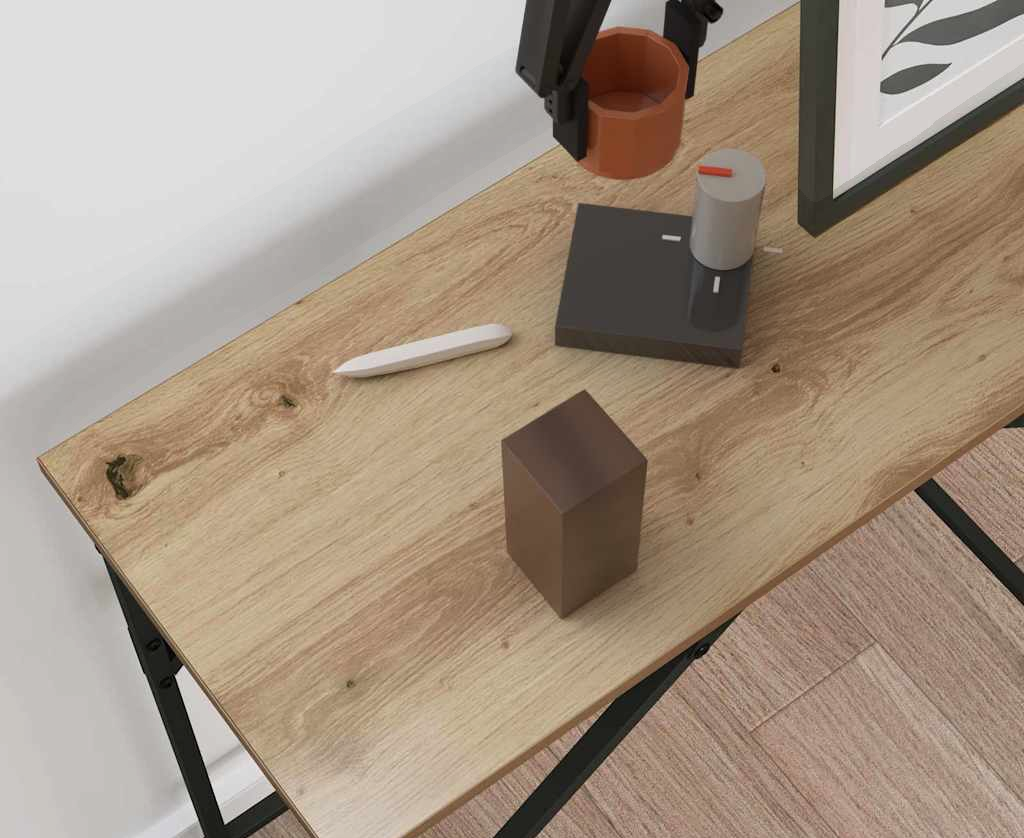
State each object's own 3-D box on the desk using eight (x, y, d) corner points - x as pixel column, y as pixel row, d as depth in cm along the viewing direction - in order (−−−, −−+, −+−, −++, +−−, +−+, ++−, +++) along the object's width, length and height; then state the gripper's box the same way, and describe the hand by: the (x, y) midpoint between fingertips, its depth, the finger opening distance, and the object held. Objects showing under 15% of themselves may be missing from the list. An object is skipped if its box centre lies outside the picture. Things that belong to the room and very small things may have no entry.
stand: (581, 503, 116) (584, 388, 103) (637, 569, 113) (648, 459, 100) (506, 551, 114) (500, 440, 101) (561, 619, 112) (562, 514, 98)
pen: (331, 373, 122) (329, 361, 120) (509, 329, 124) (509, 316, 122) (336, 390, 121) (334, 377, 120) (515, 345, 123) (515, 332, 121)
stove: (783, 226, 128) (787, 204, 126) (766, 372, 121) (771, 352, 119) (581, 202, 129) (582, 180, 127) (554, 345, 123) (554, 325, 120)
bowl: (687, 98, 109) (694, 33, 104) (673, 186, 105) (680, 124, 100) (573, 85, 110) (574, 20, 104) (555, 173, 106) (555, 110, 101)
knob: (757, 222, 125) (770, 149, 118) (751, 274, 122) (763, 202, 115) (693, 215, 125) (701, 142, 118) (685, 266, 123) (694, 194, 116)
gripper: (748, -295, 90) (712, 13, 110) (438, -143, 85) (459, 153, 104) (837, -225, 87) (783, 79, 107) (522, -62, 82) (527, 227, 101)
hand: (623, 115), depth 106 cm, fingers closed on bowl, 8 cm apart
